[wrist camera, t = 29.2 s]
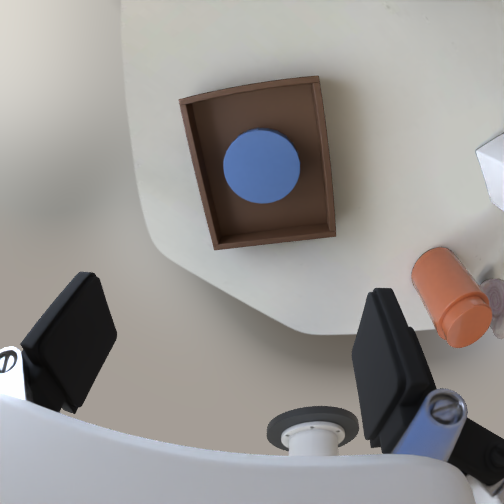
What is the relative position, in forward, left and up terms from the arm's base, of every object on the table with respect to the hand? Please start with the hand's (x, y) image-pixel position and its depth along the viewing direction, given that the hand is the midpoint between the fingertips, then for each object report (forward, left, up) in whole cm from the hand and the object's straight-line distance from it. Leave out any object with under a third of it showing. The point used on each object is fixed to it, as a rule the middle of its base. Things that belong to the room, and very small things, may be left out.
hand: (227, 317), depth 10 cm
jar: (-15, -19, -22) cm, 33 cm away
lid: (0, 0, -20) cm, 20 cm away
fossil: (-18, -28, -22) cm, 40 cm away
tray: (0, 0, -22) cm, 22 cm away
